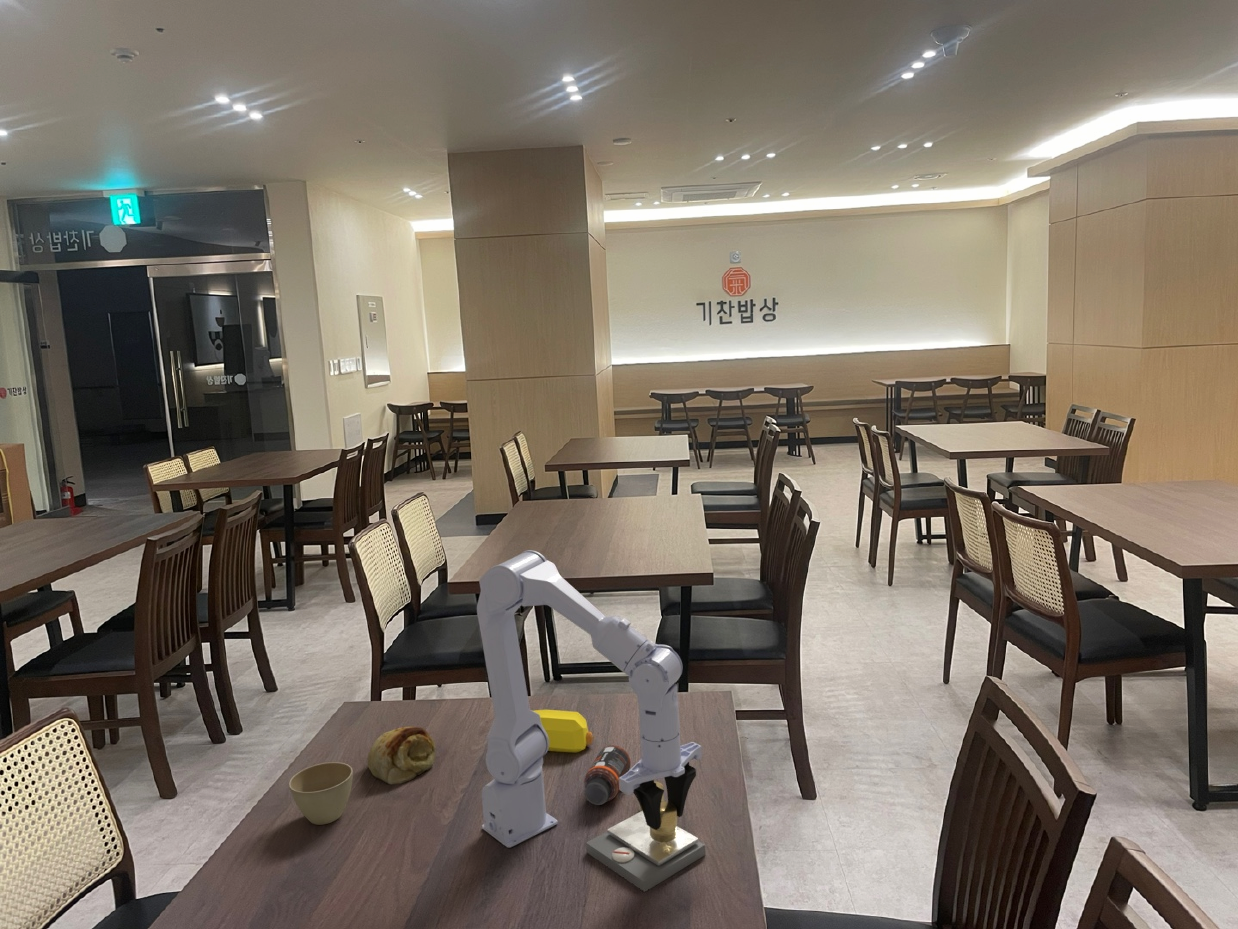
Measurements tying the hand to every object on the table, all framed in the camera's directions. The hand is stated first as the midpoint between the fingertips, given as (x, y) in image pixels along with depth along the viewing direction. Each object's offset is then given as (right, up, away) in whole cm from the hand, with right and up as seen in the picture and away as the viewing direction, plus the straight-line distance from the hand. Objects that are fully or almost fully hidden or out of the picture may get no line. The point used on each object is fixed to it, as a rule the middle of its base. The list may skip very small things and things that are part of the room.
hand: (664, 820), depth 127 cm
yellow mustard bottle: (-20, -2, +38) cm, 43 cm away
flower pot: (-55, -7, +18) cm, 58 cm away
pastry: (-46, -4, +34) cm, 57 cm away
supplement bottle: (-7, 0, +25) cm, 26 cm away
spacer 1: (-1, -4, +14) cm, 14 cm away
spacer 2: (0, -2, +1) cm, 2 cm away
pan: (-2, -4, +3) cm, 5 cm away
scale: (-3, -6, +2) cm, 7 cm away
